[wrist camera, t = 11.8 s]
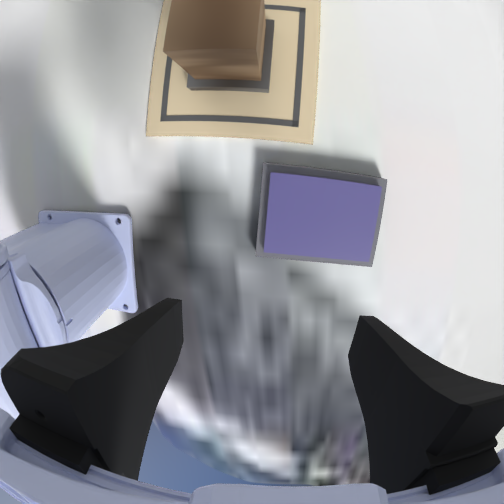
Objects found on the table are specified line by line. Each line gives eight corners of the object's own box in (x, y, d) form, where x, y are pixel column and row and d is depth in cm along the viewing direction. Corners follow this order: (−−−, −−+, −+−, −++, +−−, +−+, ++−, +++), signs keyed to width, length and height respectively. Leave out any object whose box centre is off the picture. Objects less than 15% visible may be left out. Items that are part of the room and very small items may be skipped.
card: (147, 136, 18) (145, 136, 18) (165, -1, 14) (164, -2, 14) (312, 144, 18) (313, 144, 18) (320, 1, 14) (320, -1, 14)
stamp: (191, 90, 17) (150, 62, 10) (199, 26, 15) (167, -23, 9) (269, 93, 17) (267, 60, 10) (274, 26, 15) (275, -28, 8)
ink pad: (256, 251, 20) (254, 258, 19) (263, 162, 18) (262, 163, 17) (367, 261, 20) (374, 269, 19) (381, 177, 18) (390, 180, 17)
